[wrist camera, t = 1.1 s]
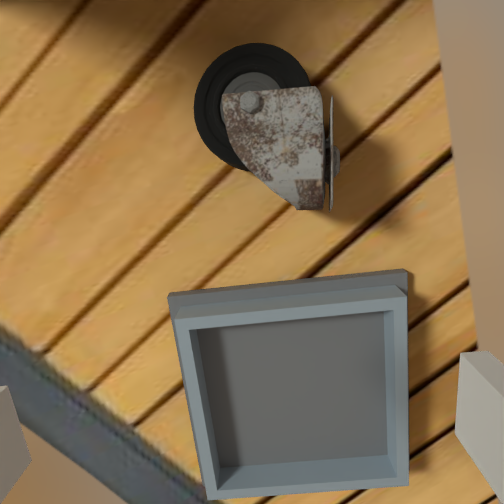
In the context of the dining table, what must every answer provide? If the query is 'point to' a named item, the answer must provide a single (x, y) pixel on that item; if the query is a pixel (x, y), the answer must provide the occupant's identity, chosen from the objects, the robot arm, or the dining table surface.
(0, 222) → the dining table surface
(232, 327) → the tray
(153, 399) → the dining table surface
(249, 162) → the caster wheel
